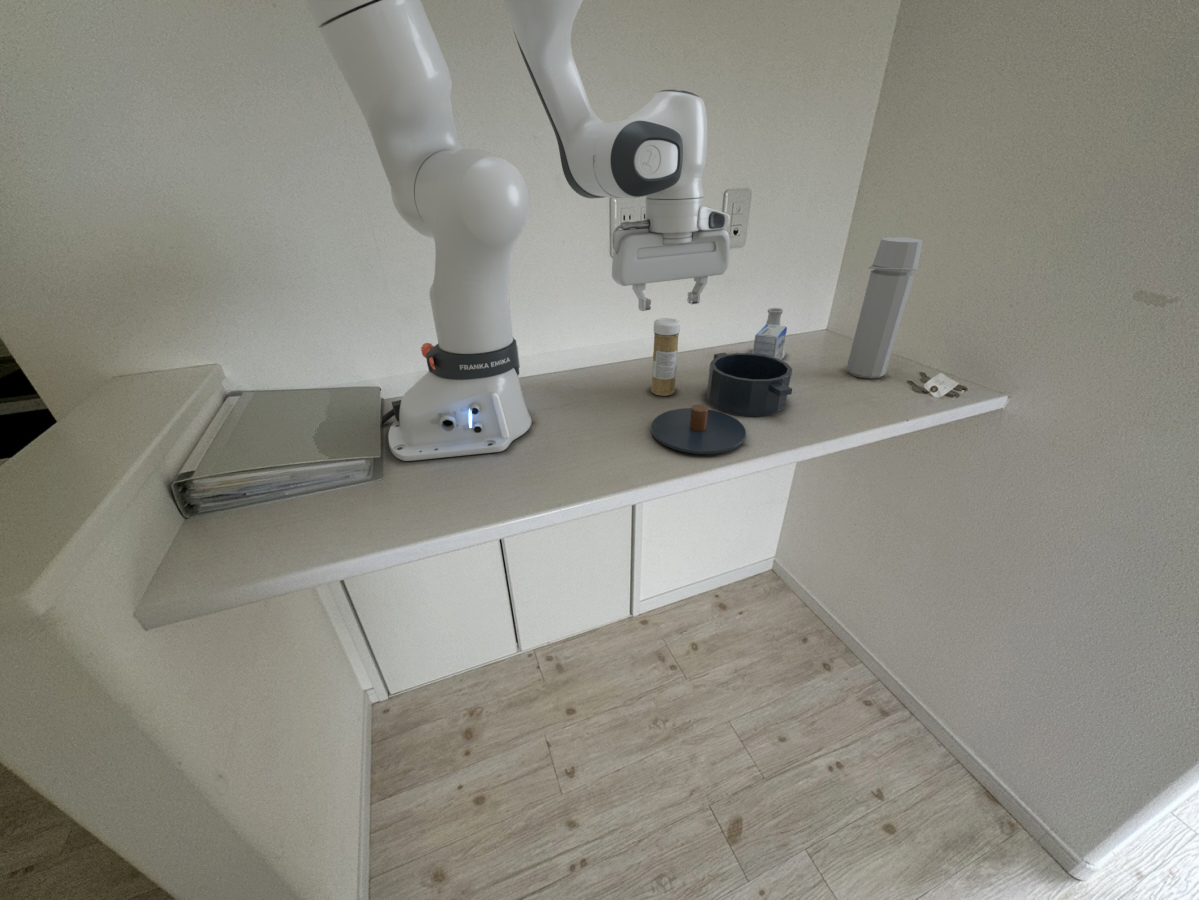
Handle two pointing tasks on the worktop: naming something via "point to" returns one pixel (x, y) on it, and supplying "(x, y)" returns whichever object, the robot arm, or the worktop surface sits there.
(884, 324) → the water bottle
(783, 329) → the medicine box
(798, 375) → the worktop surface
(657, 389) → the sprinkles bottle
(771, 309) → the flask
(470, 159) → the robot arm
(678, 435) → the pan lid
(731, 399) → the pan
